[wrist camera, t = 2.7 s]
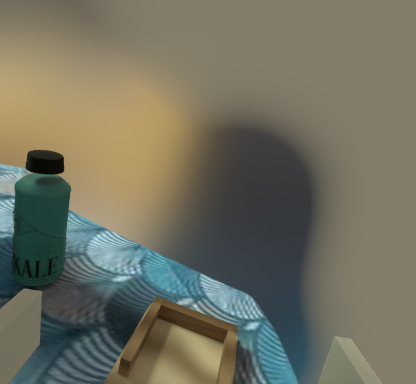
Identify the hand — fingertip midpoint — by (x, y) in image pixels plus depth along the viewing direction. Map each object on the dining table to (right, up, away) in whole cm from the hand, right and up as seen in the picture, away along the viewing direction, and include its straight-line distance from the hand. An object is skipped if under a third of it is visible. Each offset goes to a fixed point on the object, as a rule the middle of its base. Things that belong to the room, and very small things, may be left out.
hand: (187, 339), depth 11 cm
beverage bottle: (-24, -7, +27) cm, 37 cm away
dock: (-3, -15, +21) cm, 26 cm away
